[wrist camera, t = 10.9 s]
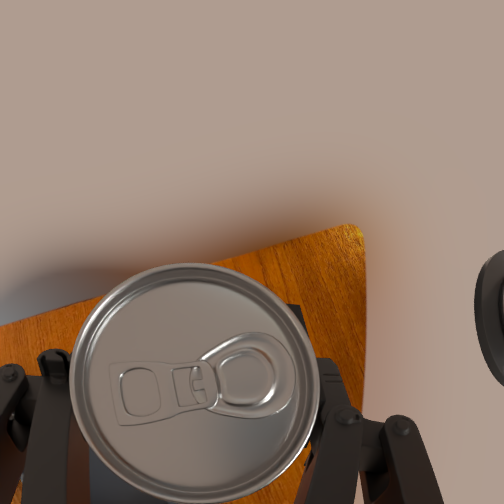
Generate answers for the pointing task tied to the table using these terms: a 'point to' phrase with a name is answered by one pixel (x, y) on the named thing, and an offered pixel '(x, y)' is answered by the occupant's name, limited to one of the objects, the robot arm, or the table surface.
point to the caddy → (113, 486)
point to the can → (194, 383)
